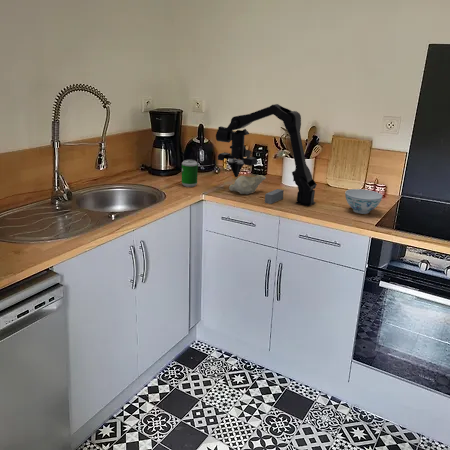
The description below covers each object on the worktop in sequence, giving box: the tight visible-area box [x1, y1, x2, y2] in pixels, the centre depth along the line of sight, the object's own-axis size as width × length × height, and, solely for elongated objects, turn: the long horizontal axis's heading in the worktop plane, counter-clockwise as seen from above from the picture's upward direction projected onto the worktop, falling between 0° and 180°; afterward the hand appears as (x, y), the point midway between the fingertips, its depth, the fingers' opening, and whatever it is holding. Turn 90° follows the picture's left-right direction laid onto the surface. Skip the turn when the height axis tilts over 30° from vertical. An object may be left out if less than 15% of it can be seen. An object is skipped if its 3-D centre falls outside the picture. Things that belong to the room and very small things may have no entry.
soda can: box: [181, 159, 199, 188], centre depth 220 cm, size 8×8×12 cm
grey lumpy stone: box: [228, 174, 266, 195], centre depth 213 cm, size 15×7×15 cm
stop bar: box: [264, 188, 284, 205], centre depth 203 cm, size 3×11×4 cm, turn 145°
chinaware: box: [344, 188, 383, 215], centre depth 193 cm, size 15×15×8 cm
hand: (236, 177), depth 215 cm, fingers closed
